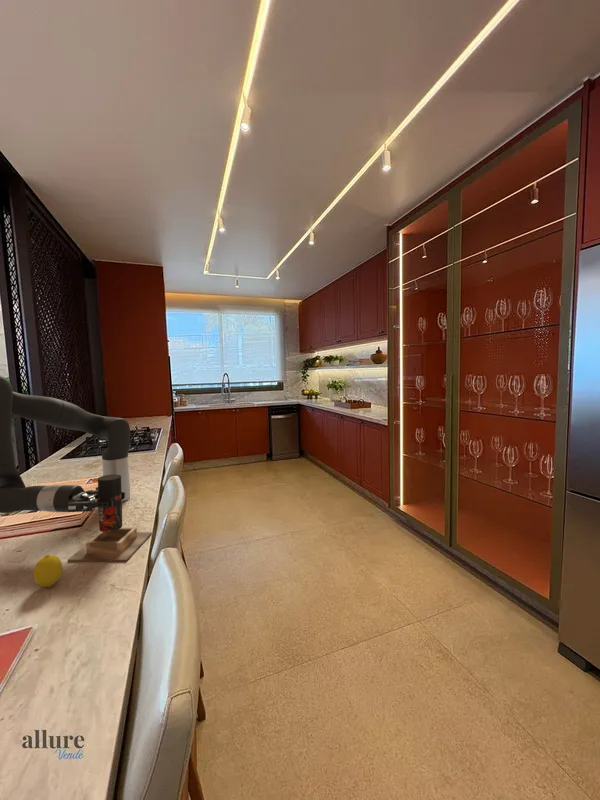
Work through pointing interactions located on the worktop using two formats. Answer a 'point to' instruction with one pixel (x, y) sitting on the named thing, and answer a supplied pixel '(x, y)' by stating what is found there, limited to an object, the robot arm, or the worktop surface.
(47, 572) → the lemon
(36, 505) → the robot arm
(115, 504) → the deodorant
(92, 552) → the socket
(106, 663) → the worktop surface
